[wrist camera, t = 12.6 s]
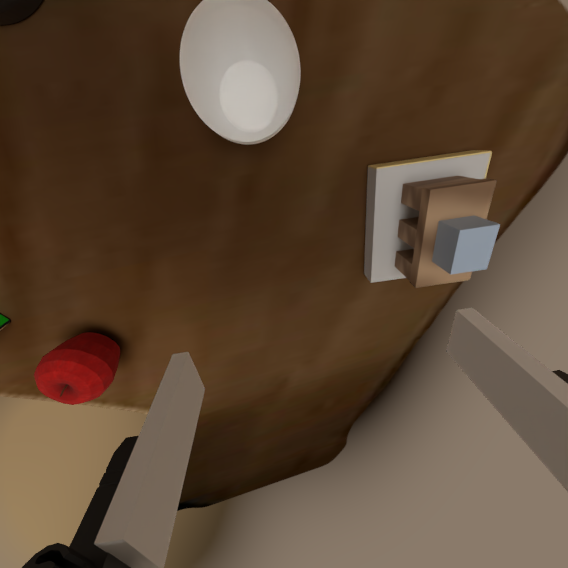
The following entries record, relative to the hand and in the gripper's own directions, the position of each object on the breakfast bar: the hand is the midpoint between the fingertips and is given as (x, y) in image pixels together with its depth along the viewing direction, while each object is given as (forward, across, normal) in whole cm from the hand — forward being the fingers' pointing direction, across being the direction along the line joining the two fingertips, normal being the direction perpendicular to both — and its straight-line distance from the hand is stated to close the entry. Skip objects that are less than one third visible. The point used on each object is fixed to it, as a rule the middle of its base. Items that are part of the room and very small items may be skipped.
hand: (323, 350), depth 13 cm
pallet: (+23, +19, -3) cm, 30 cm away
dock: (+26, +19, -4) cm, 33 cm away
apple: (+27, -34, -17) cm, 47 cm away
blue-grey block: (+17, +19, -3) cm, 26 cm away
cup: (+27, -2, +14) cm, 30 cm away
